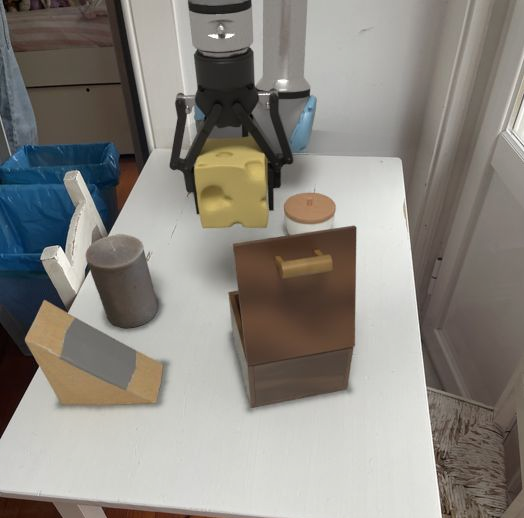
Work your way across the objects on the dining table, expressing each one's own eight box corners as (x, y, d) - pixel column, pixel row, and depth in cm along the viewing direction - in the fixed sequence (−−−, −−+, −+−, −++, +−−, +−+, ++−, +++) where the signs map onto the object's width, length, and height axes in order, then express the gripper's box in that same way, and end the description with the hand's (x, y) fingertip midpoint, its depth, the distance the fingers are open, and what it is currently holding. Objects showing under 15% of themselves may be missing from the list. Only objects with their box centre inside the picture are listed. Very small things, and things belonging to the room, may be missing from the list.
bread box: (232, 334, 86) (228, 291, 79) (317, 319, 88) (320, 276, 81) (250, 408, 75) (247, 366, 68) (347, 389, 77) (353, 347, 70)
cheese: (268, 229, 73) (267, 165, 66) (197, 230, 73) (188, 167, 66) (268, 194, 80) (267, 133, 73) (203, 196, 80) (196, 135, 73)
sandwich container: (157, 404, 76) (136, 338, 65) (60, 406, 76) (23, 340, 65) (164, 363, 82) (146, 296, 71) (74, 364, 82) (42, 298, 71)
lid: (232, 243, 59) (239, 259, 54) (354, 225, 61) (372, 239, 56) (247, 363, 68) (254, 386, 63) (353, 343, 70) (368, 364, 65)
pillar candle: (105, 331, 87) (79, 264, 76) (108, 296, 94) (85, 230, 83) (159, 324, 88) (141, 257, 77) (158, 290, 95) (142, 224, 84)
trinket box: (330, 254, 101) (333, 214, 94) (279, 249, 103) (279, 209, 96) (335, 225, 108) (338, 186, 101) (288, 221, 110) (288, 183, 103)
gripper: (126, 61, 57) (159, 224, 73) (319, 53, 58) (310, 217, 74) (134, 43, 63) (164, 199, 79) (312, 35, 63) (305, 192, 79)
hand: (235, 208), depth 76 cm, fingers closed on cheese, 11 cm apart
